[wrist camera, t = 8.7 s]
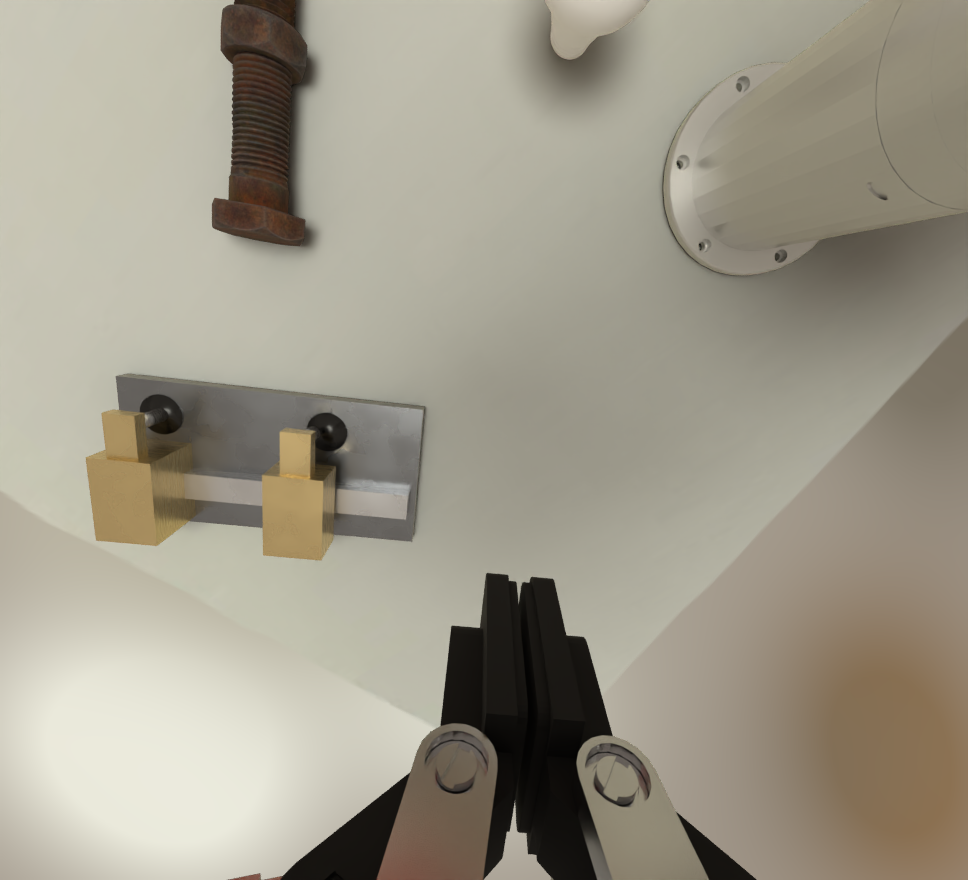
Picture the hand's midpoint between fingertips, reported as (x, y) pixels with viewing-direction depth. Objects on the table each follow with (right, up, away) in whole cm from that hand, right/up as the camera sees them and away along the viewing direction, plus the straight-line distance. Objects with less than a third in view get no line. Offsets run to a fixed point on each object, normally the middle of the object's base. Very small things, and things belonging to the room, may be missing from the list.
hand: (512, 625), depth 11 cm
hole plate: (-17, +3, +25) cm, 30 cm away
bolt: (-14, +26, +19) cm, 35 cm away
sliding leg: (-14, +2, +24) cm, 27 cm away
